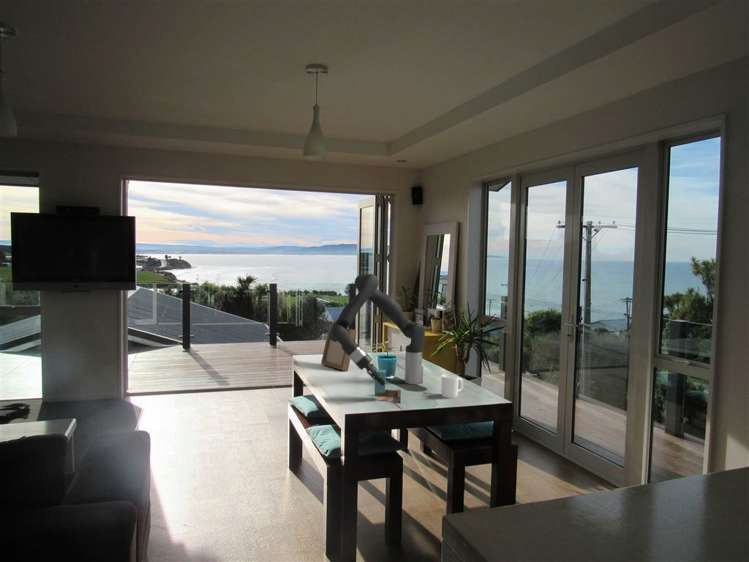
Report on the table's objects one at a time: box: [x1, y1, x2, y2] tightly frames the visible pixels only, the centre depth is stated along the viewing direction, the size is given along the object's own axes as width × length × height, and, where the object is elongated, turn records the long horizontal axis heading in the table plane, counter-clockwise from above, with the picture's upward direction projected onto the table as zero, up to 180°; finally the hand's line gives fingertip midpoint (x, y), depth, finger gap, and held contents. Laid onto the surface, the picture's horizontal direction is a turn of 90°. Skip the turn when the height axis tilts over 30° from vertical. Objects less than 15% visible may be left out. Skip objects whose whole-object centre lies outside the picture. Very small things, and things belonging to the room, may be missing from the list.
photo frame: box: [320, 324, 357, 372], centre depth 338 cm, size 15×22×25 cm
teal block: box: [374, 369, 387, 393], centre depth 270 cm, size 5×5×10 cm
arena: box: [374, 388, 402, 404], centre depth 270 cm, size 13×13×3 cm
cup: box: [440, 374, 464, 399], centre depth 279 cm, size 8×12×10 cm
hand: (383, 382), depth 270 cm, fingers closed on teal block, 5 cm apart
